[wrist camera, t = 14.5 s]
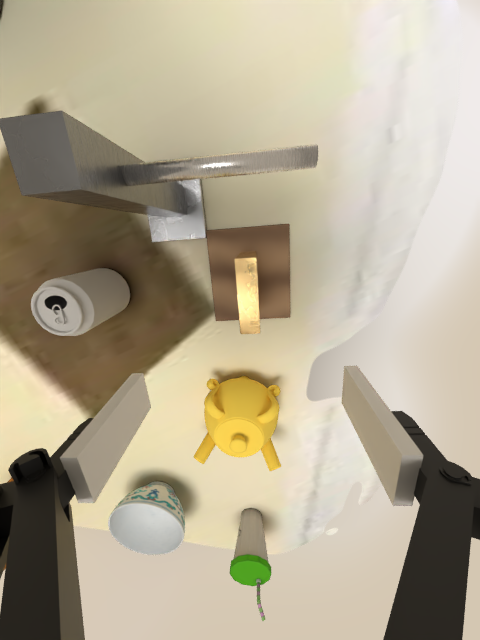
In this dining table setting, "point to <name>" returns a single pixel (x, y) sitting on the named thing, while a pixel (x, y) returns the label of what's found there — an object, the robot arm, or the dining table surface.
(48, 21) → the dining table surface
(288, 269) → the walnut board
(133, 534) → the chinaware
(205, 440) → the teapot
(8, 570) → the robot arm
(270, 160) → the stand
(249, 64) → the dining table surface
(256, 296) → the c link
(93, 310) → the can
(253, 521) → the cup
